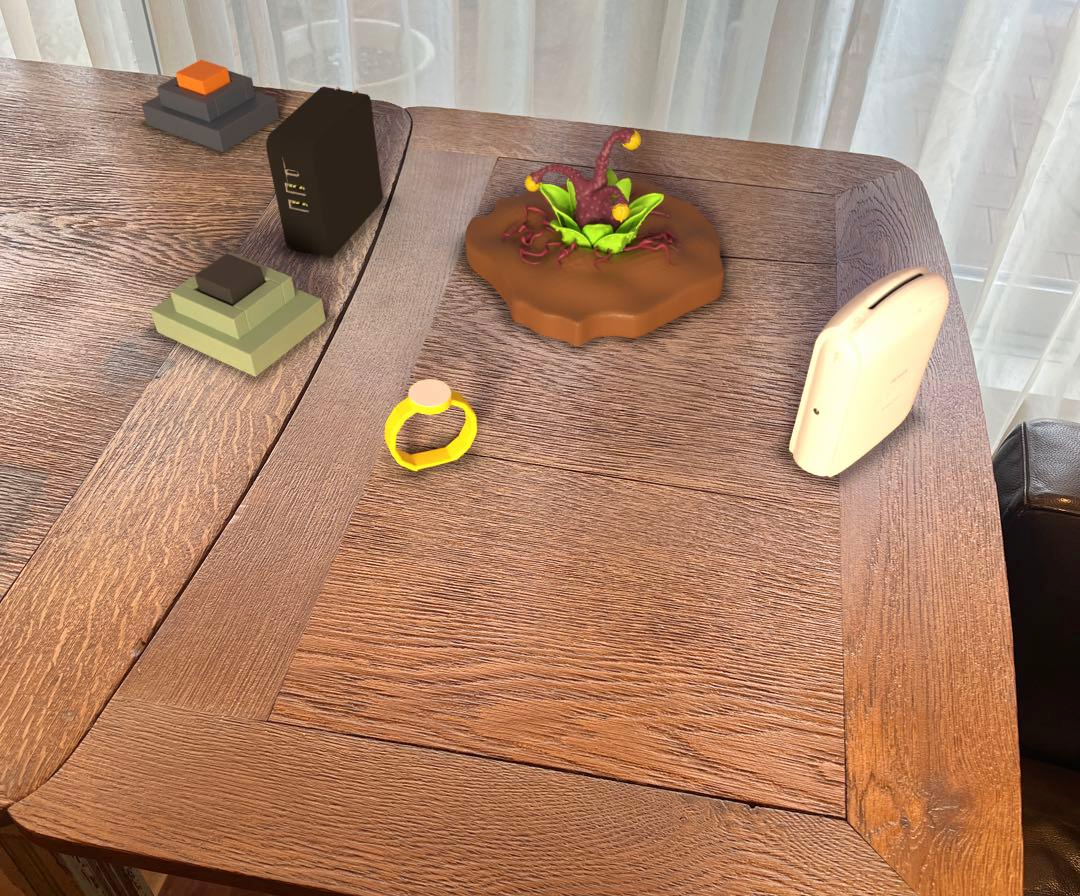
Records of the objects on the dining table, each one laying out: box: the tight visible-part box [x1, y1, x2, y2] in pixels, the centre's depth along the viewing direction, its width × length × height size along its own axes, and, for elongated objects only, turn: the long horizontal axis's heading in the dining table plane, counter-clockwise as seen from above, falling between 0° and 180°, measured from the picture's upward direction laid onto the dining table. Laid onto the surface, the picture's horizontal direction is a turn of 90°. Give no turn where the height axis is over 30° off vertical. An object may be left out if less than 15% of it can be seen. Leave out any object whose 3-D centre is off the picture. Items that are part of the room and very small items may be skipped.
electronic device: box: [265, 86, 383, 258], centre depth 85 cm, size 4×10×10 cm, turn 160°
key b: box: [175, 59, 230, 96], centre depth 98 cm, size 3×3×2 cm
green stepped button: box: [149, 251, 327, 378], centre depth 78 cm, size 10×8×4 cm
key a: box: [194, 252, 264, 306], centre depth 76 cm, size 3×3×2 cm
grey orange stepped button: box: [141, 70, 280, 153], centre depth 99 cm, size 10×8×4 cm
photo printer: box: [788, 265, 950, 478], centre depth 67 cm, size 10×4×12 cm, turn 133°
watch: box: [384, 378, 478, 472], centre depth 67 cm, size 6×3×6 cm, turn 113°
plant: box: [464, 127, 725, 347], centre depth 81 cm, size 20×20×11 cm
